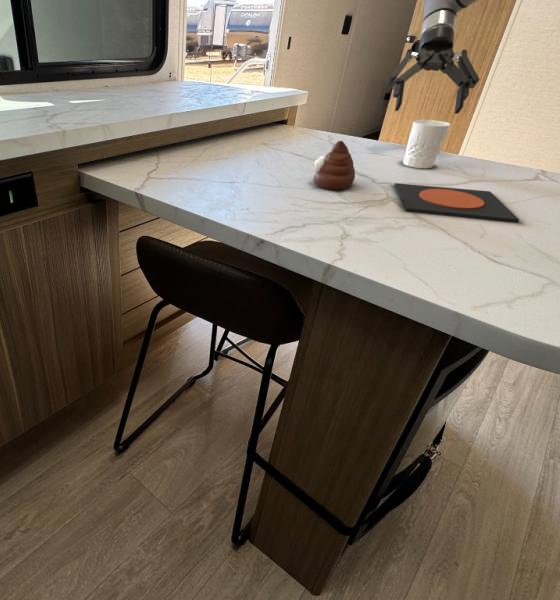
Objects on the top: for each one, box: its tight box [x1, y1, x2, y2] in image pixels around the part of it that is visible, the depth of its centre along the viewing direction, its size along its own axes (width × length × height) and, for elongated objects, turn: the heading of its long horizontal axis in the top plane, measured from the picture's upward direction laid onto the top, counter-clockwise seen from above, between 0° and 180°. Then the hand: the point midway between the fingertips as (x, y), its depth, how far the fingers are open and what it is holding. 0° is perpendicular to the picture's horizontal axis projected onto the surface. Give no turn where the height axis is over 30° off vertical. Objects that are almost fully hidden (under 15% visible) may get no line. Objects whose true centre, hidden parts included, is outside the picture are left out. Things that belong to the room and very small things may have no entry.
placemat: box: [393, 182, 520, 223], centre depth 82 cm, size 18×16×1 cm
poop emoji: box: [313, 140, 356, 191], centre depth 89 cm, size 10×8×9 cm
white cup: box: [402, 119, 452, 169], centre depth 102 cm, size 8×8×10 cm
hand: (428, 108), depth 104 cm, fingers open, 13 cm apart
